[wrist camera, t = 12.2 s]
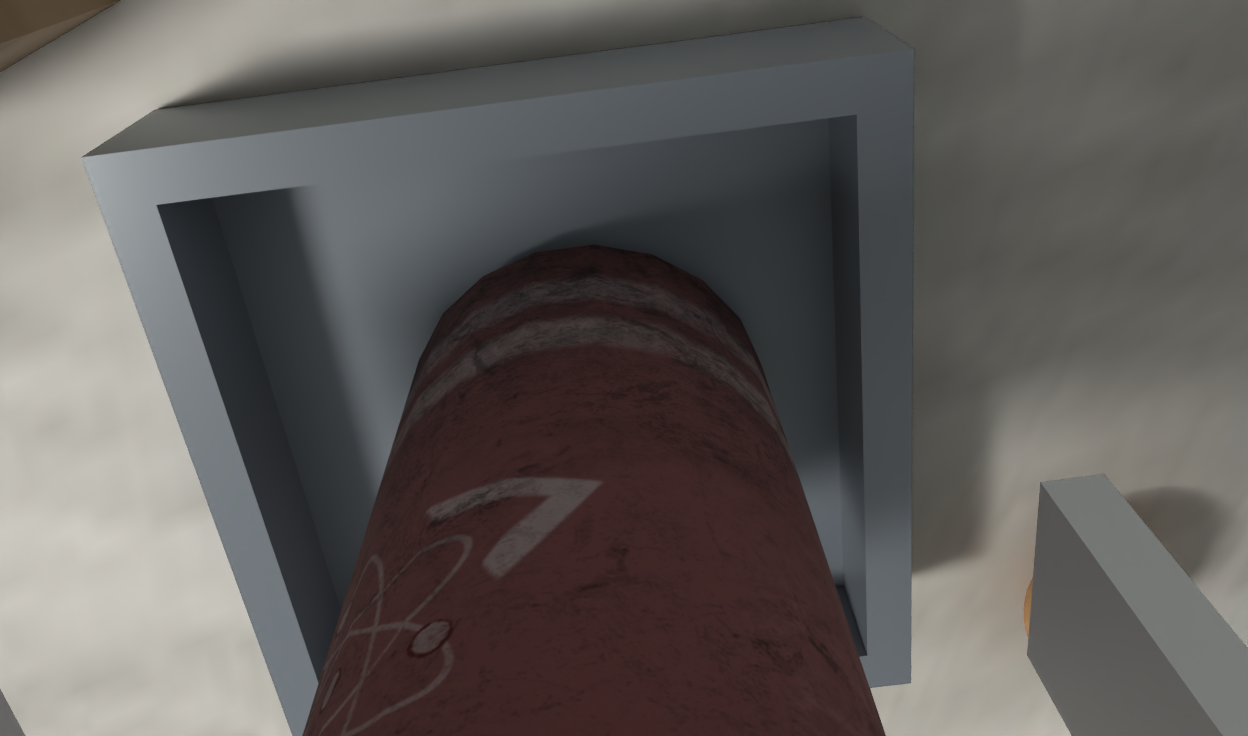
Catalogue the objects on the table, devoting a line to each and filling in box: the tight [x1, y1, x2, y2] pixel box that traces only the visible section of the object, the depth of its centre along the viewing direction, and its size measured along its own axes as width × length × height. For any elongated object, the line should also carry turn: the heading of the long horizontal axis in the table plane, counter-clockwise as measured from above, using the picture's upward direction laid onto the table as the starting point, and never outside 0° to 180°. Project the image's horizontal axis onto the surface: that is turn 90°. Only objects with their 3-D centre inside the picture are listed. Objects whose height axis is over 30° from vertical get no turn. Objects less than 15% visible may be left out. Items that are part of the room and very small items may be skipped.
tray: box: [81, 17, 914, 736], centre depth 18 cm, size 12×12×3 cm
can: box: [302, 245, 886, 736], centre depth 13 cm, size 6×6×14 cm
